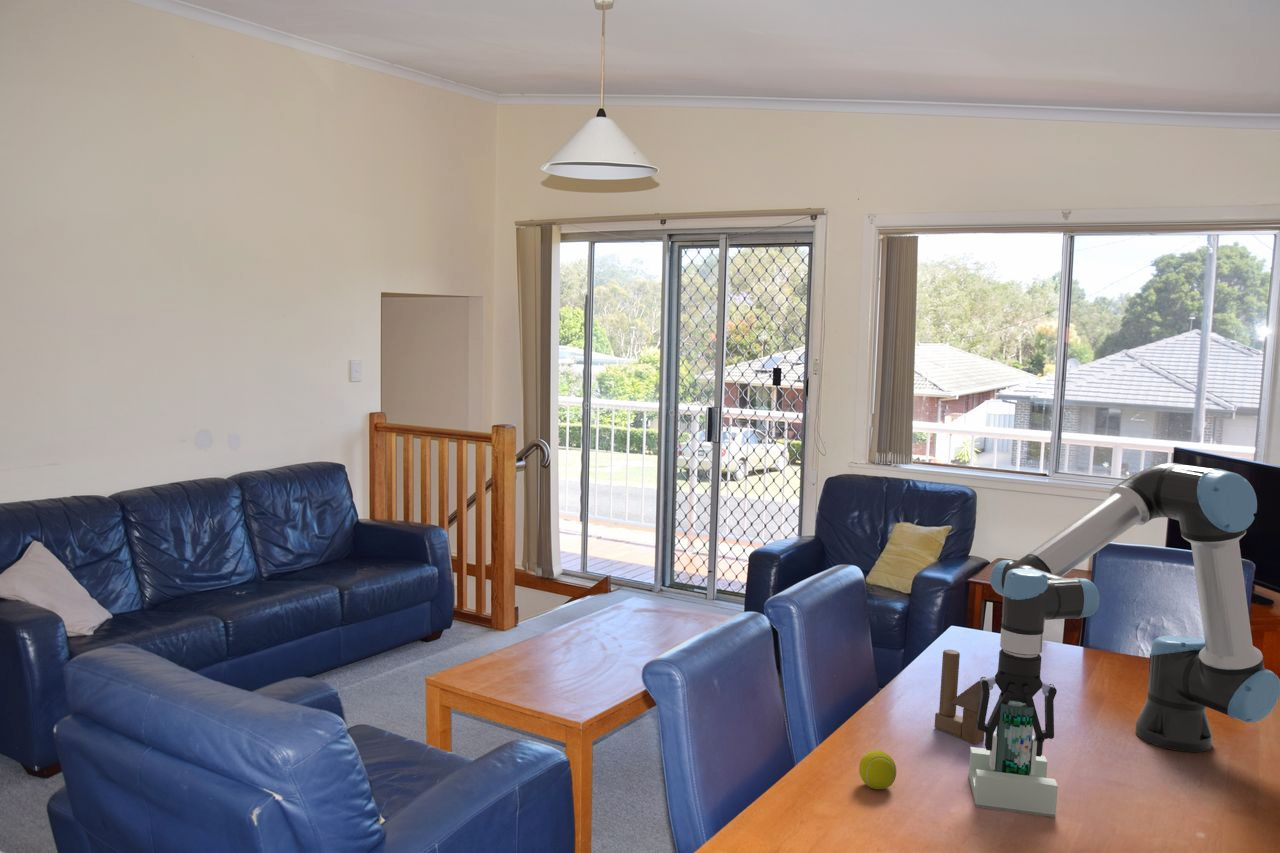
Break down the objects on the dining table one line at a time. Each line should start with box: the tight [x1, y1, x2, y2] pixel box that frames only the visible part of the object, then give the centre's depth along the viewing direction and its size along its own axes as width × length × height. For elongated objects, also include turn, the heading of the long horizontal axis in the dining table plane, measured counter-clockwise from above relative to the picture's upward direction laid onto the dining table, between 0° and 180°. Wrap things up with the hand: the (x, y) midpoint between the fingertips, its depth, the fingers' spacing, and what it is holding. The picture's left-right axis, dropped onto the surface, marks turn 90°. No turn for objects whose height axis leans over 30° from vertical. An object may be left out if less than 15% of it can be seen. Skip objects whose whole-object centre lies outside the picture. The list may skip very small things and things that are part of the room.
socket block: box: [967, 746, 1059, 818], centre depth 193 cm, size 14×14×6 cm
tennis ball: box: [858, 750, 897, 790], centre depth 195 cm, size 7×7×7 cm
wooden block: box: [934, 649, 986, 745], centre depth 222 cm, size 4×11×18 cm, turn 36°
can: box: [994, 700, 1034, 776], centre depth 192 cm, size 6×6×15 cm
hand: (1011, 768), depth 193 cm, fingers closed on can, 6 cm apart
